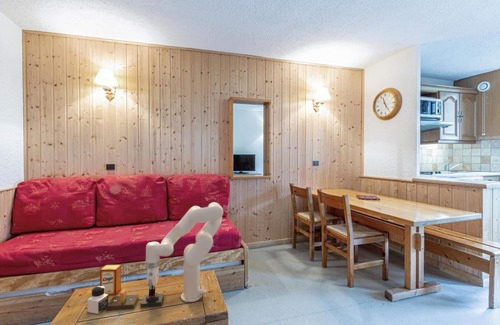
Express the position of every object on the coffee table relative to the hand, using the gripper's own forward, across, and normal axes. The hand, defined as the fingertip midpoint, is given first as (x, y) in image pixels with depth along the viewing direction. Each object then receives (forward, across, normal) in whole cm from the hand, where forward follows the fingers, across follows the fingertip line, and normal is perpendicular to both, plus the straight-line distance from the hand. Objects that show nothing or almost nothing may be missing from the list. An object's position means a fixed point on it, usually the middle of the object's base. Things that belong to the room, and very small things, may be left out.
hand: (152, 295), depth 145 cm
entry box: (+4, 0, 0) cm, 4 cm away
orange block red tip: (+2, 0, +16) cm, 16 cm away
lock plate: (+4, 0, +16) cm, 16 cm away
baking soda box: (+5, +15, +28) cm, 32 cm away
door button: (+2, 0, 0) cm, 2 cm away
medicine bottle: (+5, -3, +28) cm, 28 cm away
